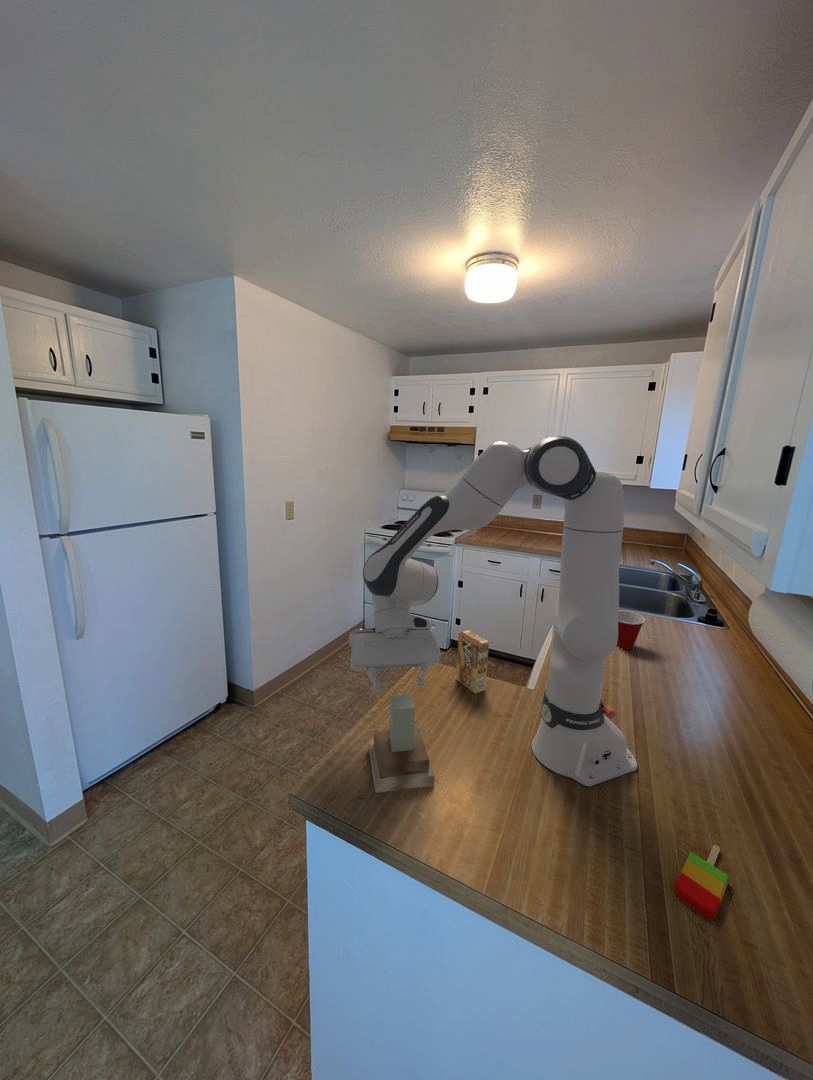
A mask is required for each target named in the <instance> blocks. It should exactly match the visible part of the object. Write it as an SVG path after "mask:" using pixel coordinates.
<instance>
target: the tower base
mask: <svg viewBox="0 0 813 1080" xmlns="http://www.w3.org/2000/svg"><path fill="white" fill-rule="evenodd" d="M368 753H369V760H370V767H371V773H372V779H373V780H372V781H373V785H374V793H375V794H376V793H378V794H379V793H386V792H393V791H402V790H411V789H417V788H425V787H433V786H435V773H434V770H433V767H432V763H431V761H430V760H429V772H425V773H418V774H410V775H403V776H395V777H388V778H380V775H379V769H378V763H377V758H376V752H375V747H374V739H372V740H368Z"/></svg>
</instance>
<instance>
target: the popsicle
mask: <svg viewBox="0 0 813 1080" xmlns="http://www.w3.org/2000/svg"><path fill="white" fill-rule="evenodd" d="M720 851H721V847H719V846H718V845H716V844H713V845H712V847H711V850H710V853H709V855H708V857H707V859H706V860H705V859H703V858H701V857H700V856H699V855H697V854H695V853H694V852H692V851H690V852H689V854H688V857H687V859H686V861H685V863H684V865H683V867H682V869H681V871H680V873H679V875H678V878H677V880H676V882H675V885H674V889H673V890H674V893H675V896H676V897H677V898H678V899H679V900H680V901H681V902H683V903H684V904H686V905H687V906H689V908H691V909H692V910H694V911H695V912H697V913H698V914H700V915H701V916H702V917H703V918H706V919H708V920H709V921H710V920H712V921H713V920H716V918H717V916H718V913H719V910H720V908H721V905H722V902H723V899H724V896H725V892H726V890H727V888H728V885H729V881H730V877H729V875H728V874H727V873H725V872H724V871H722V870H720V869H719V868H717V867H716V866H715V863H716V861H717V858H718V856H719V853H720Z"/></svg>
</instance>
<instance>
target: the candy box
mask: <svg viewBox="0 0 813 1080" xmlns="http://www.w3.org/2000/svg"><path fill="white" fill-rule="evenodd" d="M489 647H490V642H489V640H487V639H485V638H483V637H482V636H480V635H478V634H477V633H474V632H473V631H471V630H469V629H467V630H464V631H461V632H458V640H457V655H456V656H457V658H456V674H455V680H457V681H458V682H459V683H460V684H462V685H463V686H464V687H466V688H467V689H468V690H469V691H471V692H472V693H473V694H475V695H476V694H479V693H481V692H483V691H485V690H486V686H487V685H486V684H487V672H488V660H489V659H488V658H489ZM472 674H473V675H472Z"/></svg>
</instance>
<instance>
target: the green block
mask: <svg viewBox="0 0 813 1080" xmlns="http://www.w3.org/2000/svg"><path fill="white" fill-rule="evenodd" d="M414 704H415V703H414V701H413V698H412V694H406V695H405V694H403V695H391V696H389V730H390V743H391V749H392V752H399V751H409V750H413V748H414V727H415V705H414Z"/></svg>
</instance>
